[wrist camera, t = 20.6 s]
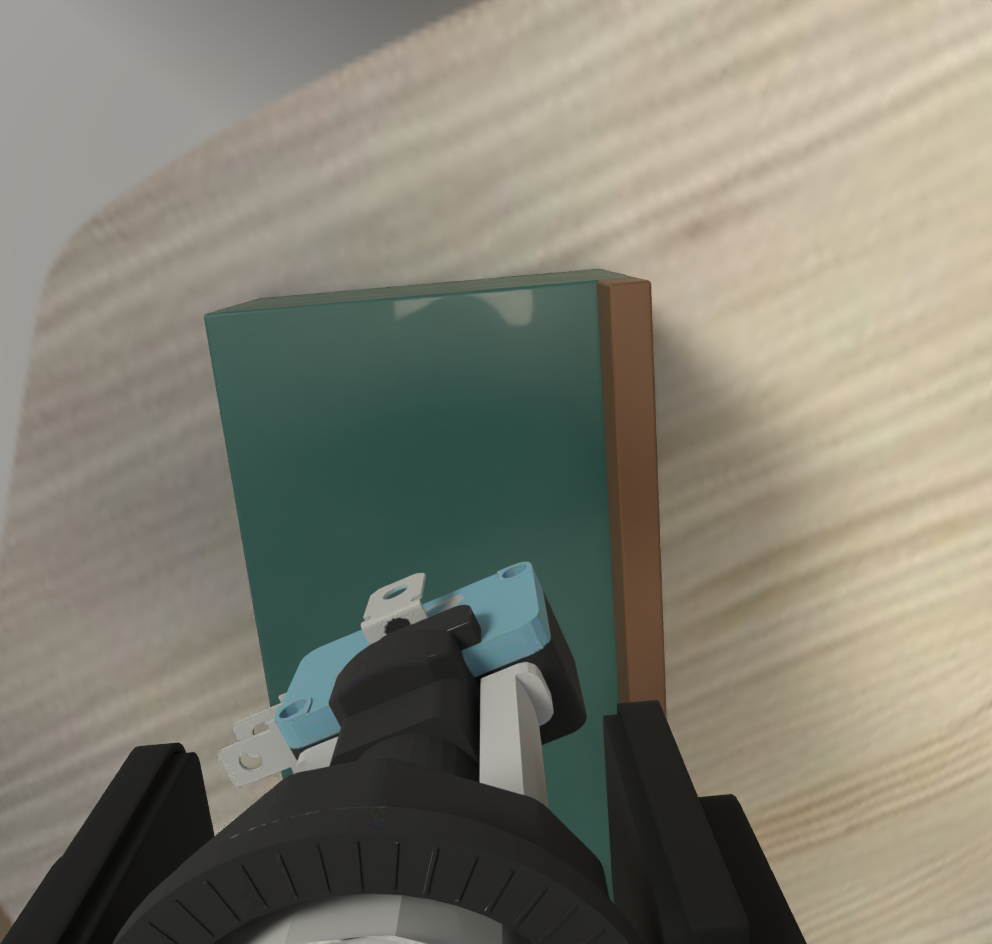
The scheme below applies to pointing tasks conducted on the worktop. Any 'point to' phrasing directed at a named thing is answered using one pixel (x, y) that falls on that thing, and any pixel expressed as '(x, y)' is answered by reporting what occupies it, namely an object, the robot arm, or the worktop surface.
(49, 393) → the worktop surface
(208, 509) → the worktop surface
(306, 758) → the push button
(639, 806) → the robot arm
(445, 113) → the worktop surface
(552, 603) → the shelf
